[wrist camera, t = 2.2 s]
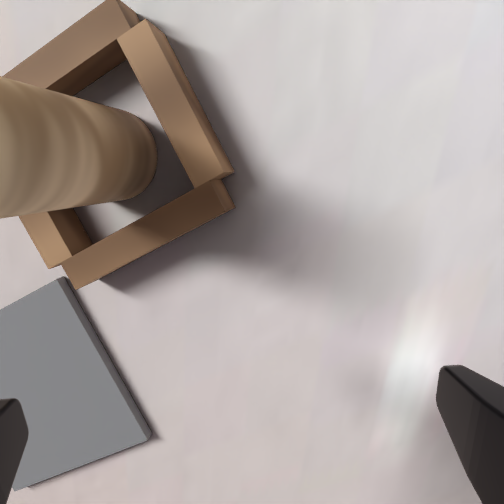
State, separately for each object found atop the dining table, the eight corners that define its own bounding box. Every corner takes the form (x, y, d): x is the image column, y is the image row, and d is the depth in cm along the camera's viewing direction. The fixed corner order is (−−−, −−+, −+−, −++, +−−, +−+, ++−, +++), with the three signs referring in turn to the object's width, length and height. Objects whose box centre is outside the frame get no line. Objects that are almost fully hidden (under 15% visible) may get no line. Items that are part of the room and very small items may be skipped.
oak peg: (173, 174, 20) (29, 180, 11) (102, 215, 21) (-86, 253, 12) (129, 91, 20) (-61, 20, 10) (59, 137, 21) (-170, 111, 11)
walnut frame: (249, 200, 20) (240, 203, 18) (87, 285, 22) (63, 296, 20) (148, 3, 19) (127, -16, 17) (-9, 114, 22) (-42, 109, 20)
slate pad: (152, 433, 23) (147, 440, 23) (21, 484, 26) (14, 491, 25) (63, 276, 23) (56, 279, 22) (-63, 344, 25) (-72, 348, 25)
